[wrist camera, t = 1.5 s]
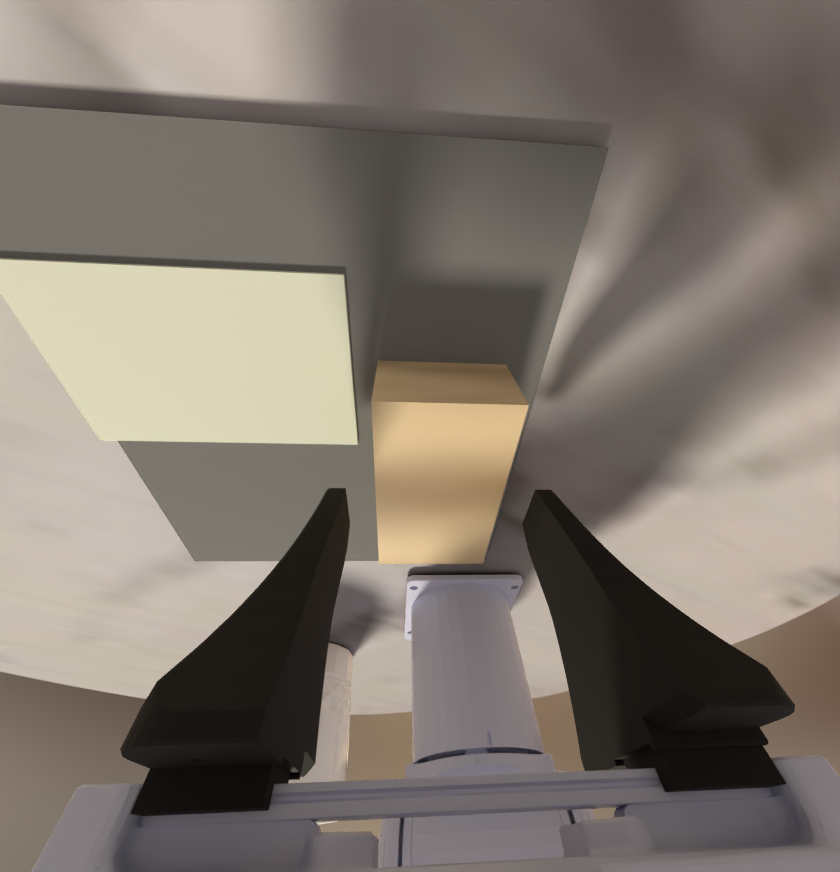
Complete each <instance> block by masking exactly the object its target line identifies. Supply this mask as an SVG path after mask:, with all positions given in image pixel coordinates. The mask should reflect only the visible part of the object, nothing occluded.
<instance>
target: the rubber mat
mask: <svg viewBox="0 0 840 872" xmlns="http://www.w3.org/2000/svg"><path fill="white" fill-rule="evenodd" d="M608 148H609V147H596V146H582V145H567V144H553V143H539V142H525V141H511V140H496V139H482V138H468V137H454V136H440V135H425V134H411V133H397V132H383V131H369V130H354V129H340V128H326V127H312V126H298V125H284V124H269V123H255V122H241V121H227V120H213V119H198V118H184V117H170V116H156V115H142V114H127V113H113V112H99V111H85V110H71V109H56V108H42V107H28V106H14V105H0V294H1V295H2V297H3V298H4V300H5V301H6V303H7V304H8V306H9V307H10V309H11V310H12V311H13V313H14V314H15V316H16V317H17V319H18V320H19V322H20V323H21V325H22V326H23V328H24V329H25V331H26V332H27V334H28V335H29V336H30V338H31V339H32V341H33V342H34V344H35V345H36V347H37V348H38V350H39V351H40V353H41V354H42V356H43V357H44V358H45V360H46V361H47V363H48V364H49V366H50V367H51V369H52V370H53V372H54V373H55V375H56V376H57V378H58V379H59V381H60V382H61V383H62V385H63V386H64V388H65V389H66V391H67V392H68V394H69V395H70V397H71V398H72V400H73V401H74V403H75V404H76V406H77V407H78V408H79V410H80V411H81V413H82V414H83V416H84V417H85V419H86V420H87V422H88V423H89V425H90V426H91V428H92V429H93V431H94V432H95V433H96V435H97V436H98V438H99V439H100V440H105V441H118V442H119V444H120V445H121V447H122V448H123V450H124V452H125V453H126V455H127V456H128V458H129V459H130V461H131V462H132V464H133V466H134V467H135V469H136V470H137V472H138V473H139V475H140V477H141V478H142V480H143V481H144V483H145V484H146V486H147V487H148V489H149V491H150V492H151V494H152V495H153V497H154V498H155V500H156V502H157V503H158V505H159V506H160V508H161V509H162V511H163V512H164V514H165V516H166V517H167V519H168V520H169V522H170V523H171V525H172V526H173V528H174V530H175V531H176V533H177V534H178V536H179V537H180V539H181V541H182V542H183V544H184V545H185V547H186V548H187V550H188V551H189V553H190V555H191V556H192V558H193V559H194V561H280V560H281V559H282V558H283V556H284V555H285V554H286V552H287V551H288V550H289V548H290V547H291V546H292V544H293V543H294V542H295V540H296V539H297V537H298V536H299V534H300V533H301V531H302V530H303V528H304V527H305V525H306V524H307V522H308V521H309V519H310V518H311V516H312V515H313V513H314V511H315V510H316V508H317V506H318V505H319V503H320V501H321V499H322V498H323V496H324V494H325V492H326V490H327V489H329V488H346V495H347V502H348V510H349V518H350V529H349V538H348V546H347V552H346V557H345V561H379V555H378V533H377V512H376V491H375V469H374V448H373V426H372V405H371V400H372V394H373V388H374V382H375V375H376V369H377V363H378V361H409V362H440V363H472V364H504V365H507V367H508V369H509V370H510V372H511V374H512V376H513V378H514V379H515V381H516V383H517V385H518V386H519V388H520V390H521V392H522V394H523V395H524V397H525V399H526V401H527V403H528V404H529V407H528V410H527V414H526V417H525V421H524V424H523V427H522V431H521V434H520V438H519V441H518V445H517V448H516V451H515V455H514V458H513V462H512V465H511V469H510V472H509V475H508V479H507V482H506V486H505V489H504V493H503V496H502V499H501V503H500V506H499V510H498V513H497V517H496V520H495V523H494V527H493V530H492V534H491V537H490V541H489V544H488V548H487V551H486V554H485V558H484V560H486V558H487V554H488V551H489V548H490V544H491V541H492V538H493V534H494V531H495V528H496V524H497V521H498V517H499V514H500V511H501V507H502V504H503V501H504V497H505V494H506V491H507V487H508V484H509V480H510V477H511V474H512V470H513V467H514V464H515V460H516V457H517V454H518V450H519V447H520V444H521V440H522V437H523V433H524V430H525V427H526V423H527V420H528V417H529V413H530V410H531V407H532V403H533V400H534V396H535V393H536V390H537V386H538V383H539V380H540V376H541V373H542V370H543V366H544V363H545V360H546V356H547V353H548V349H549V346H550V343H551V339H552V336H553V333H554V329H555V326H556V323H557V319H558V316H559V312H560V309H561V306H562V302H563V299H564V296H565V292H566V289H567V286H568V282H569V279H570V276H571V272H572V269H573V265H574V262H575V259H576V255H577V252H578V249H579V245H580V242H581V239H582V235H583V232H584V228H585V225H586V222H587V218H588V215H589V212H590V208H591V205H592V202H593V198H594V195H595V192H596V188H597V185H598V181H599V178H600V175H601V171H602V168H603V165H604V161H605V158H606V155H607V151H608Z"/></svg>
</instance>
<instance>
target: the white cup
mask: <svg viewBox="0 0 840 872" xmlns="http://www.w3.org/2000/svg"><path fill="white" fill-rule="evenodd" d="M352 668H353V656H352V654H351V653H350V651H349V650H348V649H346V648H344V647H342V646H340V645H338V644H333V643H330V642H329V644H328V652H327V660H326V668H325V676H324V685H323V693H322V702H321V711H320V721H319V731H318V741H317V750H316V761H315V764H314V766H313V767H312V768H311V770H310V771H309V772H308V773H307V774H306V775H305V776H304V777H300V780H289V782H288V783H310V782H334V781H346V774H347V760H348V746H349V732H350V710H351V690H350V687H351V680H352ZM333 822H337V821H328V822H316V823H317V824H326V823H333Z"/></svg>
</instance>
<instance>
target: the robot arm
mask: <svg viewBox="0 0 840 872" xmlns="http://www.w3.org/2000/svg"><path fill="white" fill-rule="evenodd" d="M523 528H524V533H525V537H526V542H527V546H528V550H529V553H530V556H531V559H532V561H533V564H534V567H535V570H536V573H537V576H538V578H539V581H540V584H541V587H542V590H543V592H544V595H545V598H546V601H547V604H548V606H549V610H550V613H551V616H552V619H553V623H554V627H555V631H556V635H557V639H558V643H559V647H560V651H561V656H562V660H563V664H564V669H565V673H566V678H567V683H568V688H569V693H570V697H571V702H572V707H573V713H574V718H575V724H576V730H577V735H578V741H579V748H580V754H581V759H582V763H583V766H584V769H585V771H574V772H566V771H564V770H560V771H556V769H555V765H554V762H553V758H552V755H551V754H545V753H544V749H543V744H542V740H541V736H540V732H539V728H538V724H537V720H536V716H535V712H534V708H533V703H532V699H531V695H530V691H529V687H528V683H527V679H526V675H525V671H524V666H523V662H522V658H521V654H520V650H519V646H518V642H517V638H516V634H515V630H514V625H513V621H512V617H511V613H510V611H511V608H512V606H513V604H514V602H515V600H516V597H517V595H518V593H519V591H520V588H521V586H522V584H523V579H522V577H521V576H520V575H412V576H409V577H408V578H407V585H406V606H405V628H404V638H405V639H406V640H411V646H412V726H413V728H412V731H413V764H409V765H406V779H382V780H358V781H334V782H310V783H288V782H289V780H300V777H304V776H305V775H306V774H307V773H308V772H309V771H310V770H311V768H312V767H313V766H314V764H315V761H316V750H317V741H318V731H319V721H320V711H321V702H322V693H323V685H324V676H325V668H326V660H327V652H328V644H329V637H330V629H331V622H332V616H333V611H334V606H335V602H336V597H337V593H338V588H339V584H340V579H341V575H342V571H343V566H344V562H345V557H346V552H347V546H348V538H349V529H350V518H349V510H348V502H347V495H346V488H329V489H327V490H326V492H325V494H324V496H323V498H322V499H321V501H320V503H319V505H318V506H317V508H316V510H315V511H314V513H313V515H312V516H311V518H310V519H309V521H308V522H307V524H306V525H305V527H304V528H303V530H302V531H301V533H300V534H299V536H298V537H297V539H296V540H295V542H294V543H293V544H292V546H291V547H290V548H289V550H288V551H287V552H286V554H285V555H284V556H283V558H282V559H281V560H280V562H279V563H278V564H277V565H276V566H275V568H274V569H273V570H272V571H271V573H270V574H269V575H268V576H267V577H266V578H265V580H264V581H263V582H262V583H261V584H260V585H259V586H258V588H257V589H256V590H255V591H254V592H253V593H252V594H251V595H250V596H249V597H248V598H247V599H246V601H245V602H244V603H243V604H242V605H241V606H240V607H239V608H238V609H237V610H236V611H235V612H234V613H233V614H232V615H231V616H230V617H229V618H228V619H227V620H226V621H225V622H224V623H223V624H221V625H220V626H219V627H218V628H217V629H216V630H215V631H214V632H213V633H212V634H211V635H210V636H209V637H208V638H207V639H206V640H205V641H204V642H202V643H201V644H200V645H199V646H198V647H197V648H196V649H195V650H193V651H192V652H191V653H190V654H189V655H188V656H186V657H185V658H184V659H183V660H182V661H181V662H179V663H178V664H177V665H176V666H175V667H174V668H172V669H171V670H170V671H169V672H168V673H167V674H165V675H164V676H163V677H162V678H161V679H160V680H158V681H157V683H156V684H155V686H154V688H153V689H152V691H151V693H150V694H149V696H148V697H147V699H146V700H145V702H144V704H143V706H142V707H141V709H140V711H139V713H138V715H137V717H136V719H135V721H134V723H133V725H132V727H131V729H130V731H129V733H128V735H127V737H126V739H125V741H124V743H123V745H122V747H121V749H120V750H121V753H122V756H123V757H124V758H126V759H128V760H130V761H133V762H135V763H138V764H140V765H143V766H146V767H148V768H150V770H149V773H148V775H147V777H146V779H145V782H144V784H135V783H118V784H93V785H81V786H80V787H78V788H77V789H76V790H75V792H74V794H73V796H72V797H71V799H70V801H69V803H68V805H67V807H66V808H65V810H64V812H63V814H62V816H61V818H60V820H59V821H58V823H57V825H56V827H55V829H54V831H53V832H52V834H51V836H50V838H49V840H48V842H47V843H46V845H45V847H44V849H43V851H42V853H41V855H40V856H39V858H38V860H37V862H36V864H35V866H34V868H33V869H32V871H31V872H840V777H839V776H838V774H837V773H836V772H835V770H834V769H833V768H832V766H831V765H830V764H829V762H828V761H827V760H826V758H825V757H823V756H821V755H808V756H785V757H776V758H770V757H769V755H768V753H767V752H766V750H765V749H764V747H763V745H767V744H768V740H767V738H766V737H765V735H764V734H763V732H762V731H761V729H760V728H759V727H761V726H763V725H766V724H769V723H771V722H774V721H777V720H779V719H782V718H784V717H786V716H789V715H790V714H792V713H793V712H794V709H795V704H794V703H793V702H792V700H791V699H790V698H789V696H788V695H787V694H786V692H785V691H784V690H783V688H782V687H781V686H780V684H779V683H778V682H777V680H776V679H775V678H774V676H773V675H772V674H771V672H770V671H769V670H768V668H767V667H765V666H764V665H762V664H760V663H759V662H757V661H756V660H754V659H752V658H751V657H749V656H748V655H746V654H744V653H743V652H741V651H739V650H738V649H736V648H734V647H733V646H731V645H730V644H728V643H727V642H725V641H723V640H722V639H720V638H719V637H717V636H716V635H714V634H713V633H711V632H710V631H708V630H707V629H705V628H704V627H703V626H701V625H700V624H698V623H697V622H695V621H694V620H692V619H691V618H690V617H688V616H687V615H685V614H684V613H683V612H681V611H680V610H678V609H677V608H676V607H674V606H673V605H672V604H671V603H669V602H668V601H667V600H665V599H664V598H663V597H661V596H660V595H659V594H657V593H656V592H655V591H654V590H652V589H651V588H650V587H649V586H647V585H646V584H645V583H644V582H643V581H641V580H640V579H639V578H638V577H637V576H636V575H634V574H633V573H632V572H631V571H630V570H629V569H627V568H626V567H625V566H624V565H623V564H622V563H621V562H620V561H619V560H618V559H616V558H615V557H614V556H613V555H612V554H611V553H610V552H609V551H608V550H607V549H606V548H605V547H604V546H603V545H602V544H601V543H600V542H599V541H598V540H597V539H596V538H595V537H594V536H593V535H592V534H591V533H590V532H589V531H588V530H587V529H586V528H585V527H584V526H583V524H582V523H581V522H580V521H579V520H578V519H577V518H576V517H575V516H574V515H573V514H572V513H571V511H570V510H569V509H568V508H567V507H566V506H565V505H564V504H563V503H562V501H561V500H560V499H559V498H558V497H557V496H556V495H555V494H554V493H553V492H552V490H535V492H534V495H533V498H532V500H531V503H530V506H529V508H528V511H527V513H526V516H525V519H524V521H523ZM616 807H619V808H616ZM596 808H616V810H615V812H614V818H605V819H596V818H595V816H594V813H593V810H592V809H596ZM368 819H382V824H381V831H380V839H379V840H378V838H377V836H374V835H373V833H372V832H321V830H320V827H319V826H318V824H317V823H316V822H328V821H348V820H368ZM378 843H379V849H378Z"/></svg>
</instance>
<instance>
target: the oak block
mask: <svg viewBox="0 0 840 872" xmlns="http://www.w3.org/2000/svg"><path fill="white" fill-rule="evenodd" d="M371 405H372V426H373V448H374V469H375V491H376V512H377V533H378V555H379V564H483V561H484V558H485V554H486V551H487V548H488V544H489V541H490V537H491V534H492V530H493V527H494V523H495V520H496V517H497V513H498V510H499V506H500V503H501V499H502V496H503V493H504V489H505V486H506V482H507V479H508V475H509V472H510V469H511V465H512V462H513V458H514V455H515V451H516V448H517V445H518V441H519V438H520V434H521V431H522V427H523V424H524V421H525V417H526V414H527V410H528V407H529V404H528V403H527V401H526V399H525V397H524V395H523V394H522V392H521V390H520V388H519V386H518V385H517V383H516V381H515V379H514V378H513V376H512V374H511V372H510V370H509V369H508V367H507V365H504V364H472V363H440V362H409V361H378V363H377V369H376V375H375V382H374V388H373V394H372V400H371Z"/></svg>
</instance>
